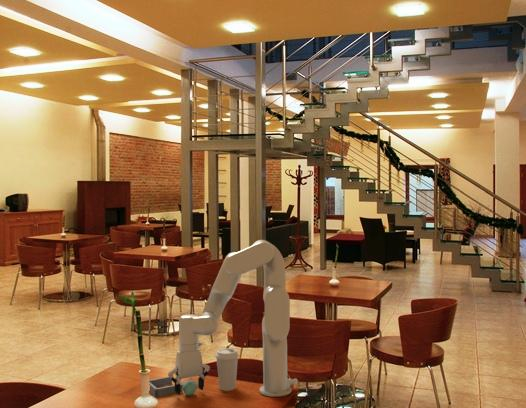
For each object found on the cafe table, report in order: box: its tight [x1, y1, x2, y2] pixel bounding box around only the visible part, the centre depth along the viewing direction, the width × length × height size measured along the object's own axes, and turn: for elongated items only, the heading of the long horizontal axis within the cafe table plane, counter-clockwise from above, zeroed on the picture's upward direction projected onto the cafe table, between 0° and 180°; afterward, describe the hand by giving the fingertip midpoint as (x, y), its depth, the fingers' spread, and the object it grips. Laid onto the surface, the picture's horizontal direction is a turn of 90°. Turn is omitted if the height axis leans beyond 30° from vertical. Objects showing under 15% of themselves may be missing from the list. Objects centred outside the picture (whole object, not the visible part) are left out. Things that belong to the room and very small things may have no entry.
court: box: [148, 376, 184, 398], centre depth 217 cm, size 11×12×3 cm
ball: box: [182, 382, 197, 396], centre depth 211 cm, size 5×5×5 cm
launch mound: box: [179, 378, 199, 390], centre depth 223 cm, size 14×14×14 cm
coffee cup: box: [214, 347, 240, 392], centre depth 218 cm, size 10×10×15 cm
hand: (189, 391), depth 211 cm, fingers open, 9 cm apart
